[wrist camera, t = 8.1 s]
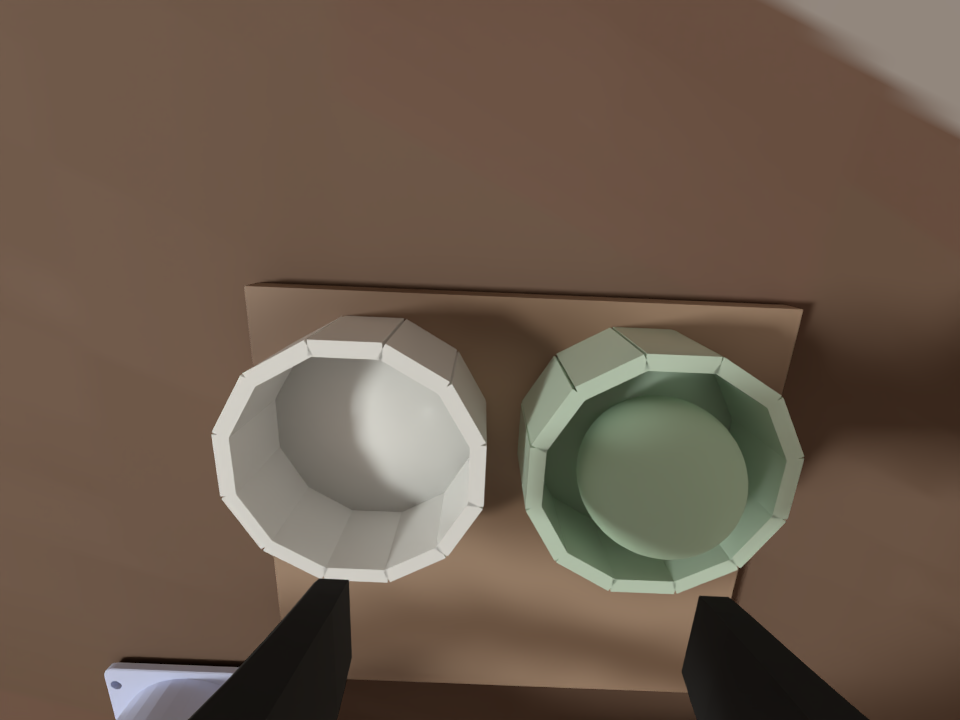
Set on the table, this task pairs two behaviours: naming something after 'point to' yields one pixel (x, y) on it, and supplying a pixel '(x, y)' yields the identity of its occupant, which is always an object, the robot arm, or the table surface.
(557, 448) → the cup green
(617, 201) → the table surface
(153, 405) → the table surface
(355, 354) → the cup grey
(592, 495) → the ball
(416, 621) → the board
